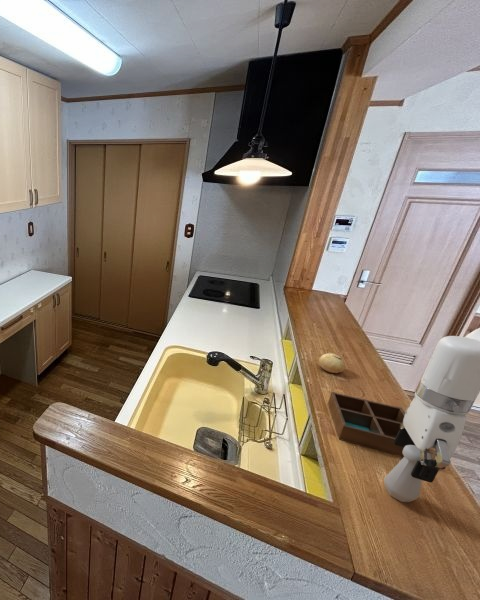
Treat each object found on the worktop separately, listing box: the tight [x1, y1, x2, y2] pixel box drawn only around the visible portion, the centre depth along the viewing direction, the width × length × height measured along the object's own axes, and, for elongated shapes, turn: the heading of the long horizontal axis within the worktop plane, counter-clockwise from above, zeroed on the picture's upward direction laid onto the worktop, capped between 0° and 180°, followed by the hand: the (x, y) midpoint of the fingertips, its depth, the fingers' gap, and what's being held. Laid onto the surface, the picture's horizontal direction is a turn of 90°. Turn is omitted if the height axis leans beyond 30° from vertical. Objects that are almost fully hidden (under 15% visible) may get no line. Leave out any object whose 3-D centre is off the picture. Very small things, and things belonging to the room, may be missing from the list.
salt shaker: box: [383, 445, 432, 503], centre depth 71 cm, size 6×6×13 cm
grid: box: [327, 391, 427, 458], centre depth 92 cm, size 17×17×5 cm
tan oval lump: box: [317, 352, 346, 374], centre depth 121 cm, size 8×8×7 cm
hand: (411, 461), depth 70 cm, fingers open, 9 cm apart
